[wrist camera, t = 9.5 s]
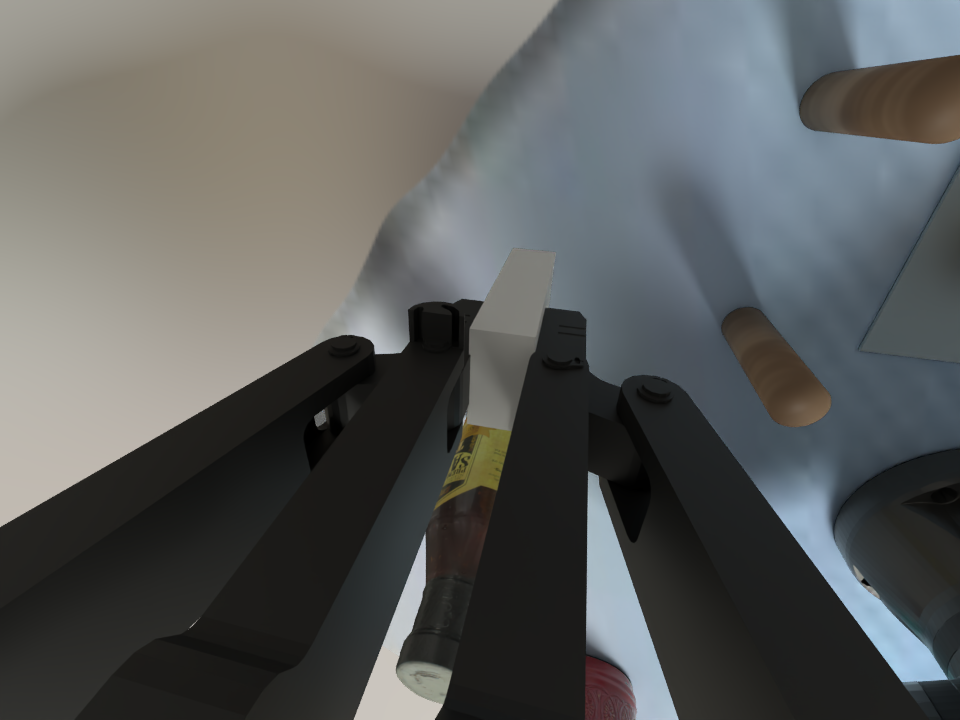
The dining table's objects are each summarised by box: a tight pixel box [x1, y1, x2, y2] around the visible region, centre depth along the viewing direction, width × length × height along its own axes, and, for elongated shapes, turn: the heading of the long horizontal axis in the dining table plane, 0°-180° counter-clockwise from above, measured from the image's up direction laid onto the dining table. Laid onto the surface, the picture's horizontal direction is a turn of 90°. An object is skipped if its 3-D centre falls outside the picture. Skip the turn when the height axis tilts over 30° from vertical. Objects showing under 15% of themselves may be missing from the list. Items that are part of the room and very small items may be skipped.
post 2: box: [800, 55, 960, 144], centre depth 18 cm, size 3×3×9 cm
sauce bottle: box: [396, 417, 512, 704], centre depth 28 cm, size 7×6×20 cm
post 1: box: [721, 307, 831, 427], centre depth 25 cm, size 3×3×9 cm
